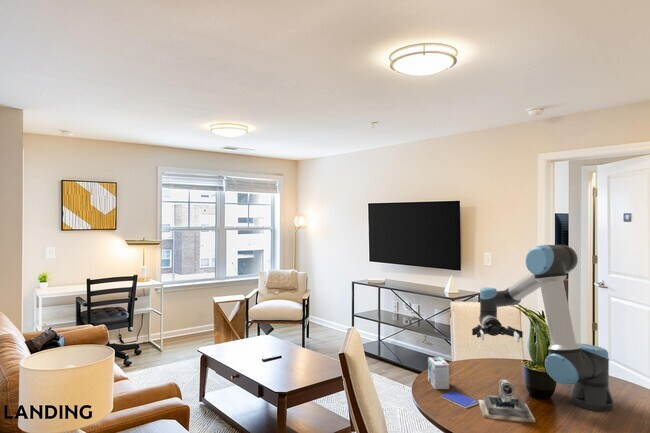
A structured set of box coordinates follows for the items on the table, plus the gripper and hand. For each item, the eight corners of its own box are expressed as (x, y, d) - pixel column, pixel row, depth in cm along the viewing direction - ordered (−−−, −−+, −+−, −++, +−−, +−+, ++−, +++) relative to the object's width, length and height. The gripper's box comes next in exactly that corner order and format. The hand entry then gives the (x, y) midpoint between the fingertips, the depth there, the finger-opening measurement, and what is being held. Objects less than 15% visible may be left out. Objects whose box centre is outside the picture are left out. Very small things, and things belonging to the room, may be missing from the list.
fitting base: (526, 406, 171) (526, 397, 171) (535, 422, 158) (535, 412, 158) (478, 402, 175) (478, 393, 175) (483, 417, 161) (483, 408, 161)
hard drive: (479, 401, 174) (454, 390, 184) (465, 405, 169) (441, 394, 180) (479, 404, 174) (454, 394, 184) (465, 409, 169) (441, 398, 180)
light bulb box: (427, 380, 199) (427, 357, 199) (441, 380, 199) (441, 356, 199) (434, 389, 188) (434, 364, 188) (449, 389, 189) (449, 364, 189)
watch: (501, 413, 162) (501, 384, 163) (494, 404, 171) (494, 376, 171) (516, 414, 162) (516, 385, 162) (509, 405, 170) (509, 377, 170)
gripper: (521, 335, 194) (533, 349, 173) (463, 332, 199) (468, 345, 179) (521, 318, 194) (533, 330, 174) (463, 316, 200) (468, 327, 179)
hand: (500, 338), depth 176 cm, fingers open, 13 cm apart
